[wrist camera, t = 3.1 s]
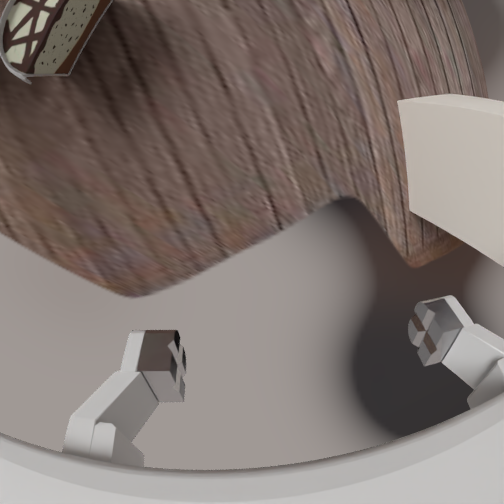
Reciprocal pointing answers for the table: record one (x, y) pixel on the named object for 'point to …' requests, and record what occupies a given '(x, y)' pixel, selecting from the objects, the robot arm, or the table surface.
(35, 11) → the half round cake
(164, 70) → the table surface
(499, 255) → the stand
